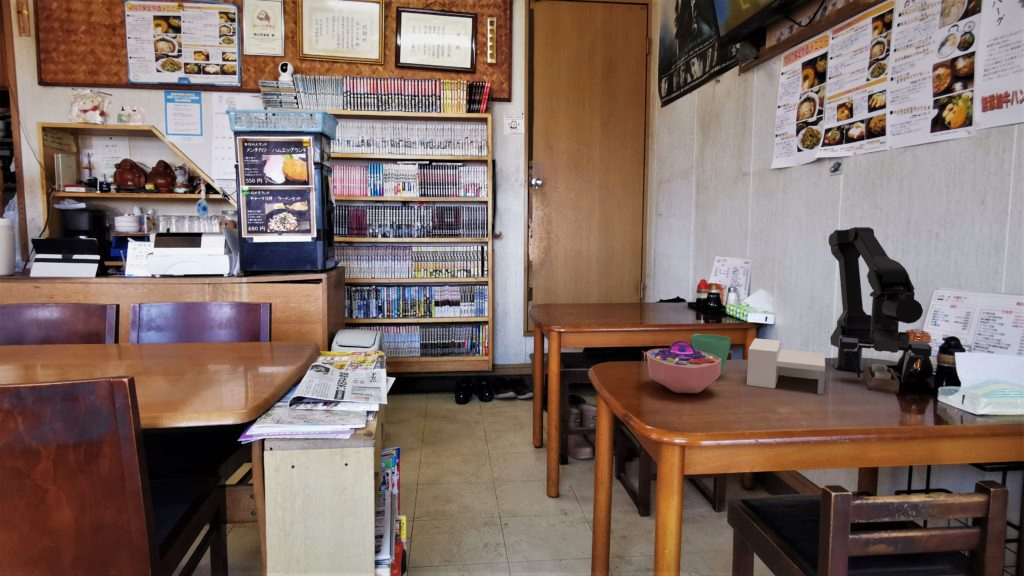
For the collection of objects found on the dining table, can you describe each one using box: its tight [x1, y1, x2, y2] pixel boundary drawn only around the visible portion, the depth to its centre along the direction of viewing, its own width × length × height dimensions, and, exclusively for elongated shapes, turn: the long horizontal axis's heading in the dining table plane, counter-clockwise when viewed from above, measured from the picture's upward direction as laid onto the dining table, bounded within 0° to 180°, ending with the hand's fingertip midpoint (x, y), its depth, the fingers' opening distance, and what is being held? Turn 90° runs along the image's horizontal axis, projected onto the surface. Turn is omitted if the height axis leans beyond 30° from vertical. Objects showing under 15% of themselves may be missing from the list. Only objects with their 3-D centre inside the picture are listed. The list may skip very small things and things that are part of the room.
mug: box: [690, 333, 732, 377], centre depth 149 cm, size 15×10×10 cm
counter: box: [746, 337, 826, 395], centre depth 141 cm, size 16×16×9 cm
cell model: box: [645, 340, 721, 394], centre depth 132 cm, size 17×20×11 cm
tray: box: [863, 363, 900, 394], centre depth 139 cm, size 6×14×4 cm, turn 152°
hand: (880, 379), depth 139 cm, fingers open, 9 cm apart
